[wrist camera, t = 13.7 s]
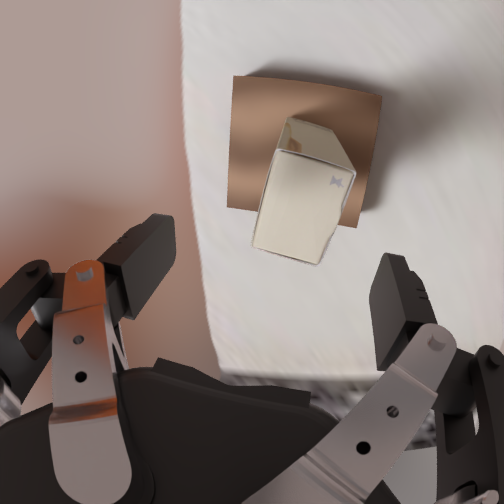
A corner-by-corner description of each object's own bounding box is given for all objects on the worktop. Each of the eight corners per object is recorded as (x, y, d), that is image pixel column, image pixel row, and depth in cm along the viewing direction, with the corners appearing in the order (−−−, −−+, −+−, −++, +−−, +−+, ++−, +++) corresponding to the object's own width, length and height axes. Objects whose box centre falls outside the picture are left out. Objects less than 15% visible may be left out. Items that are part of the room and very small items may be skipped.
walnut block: (243, 76, 26) (233, 75, 23) (373, 94, 24) (382, 96, 21) (236, 193, 33) (226, 207, 30) (352, 211, 31) (356, 228, 28)
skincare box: (286, 115, 24) (275, 139, 13) (334, 129, 24) (361, 166, 13) (268, 181, 27) (246, 250, 17) (313, 194, 27) (320, 270, 17)
